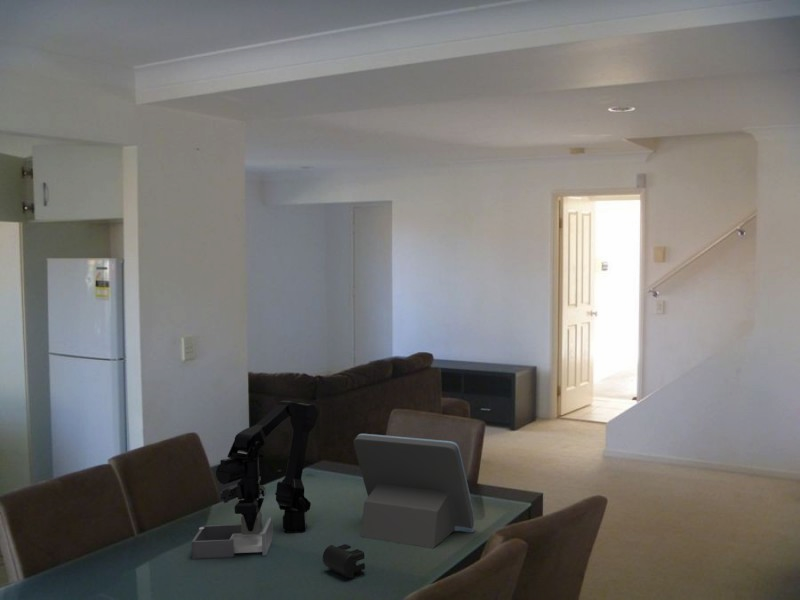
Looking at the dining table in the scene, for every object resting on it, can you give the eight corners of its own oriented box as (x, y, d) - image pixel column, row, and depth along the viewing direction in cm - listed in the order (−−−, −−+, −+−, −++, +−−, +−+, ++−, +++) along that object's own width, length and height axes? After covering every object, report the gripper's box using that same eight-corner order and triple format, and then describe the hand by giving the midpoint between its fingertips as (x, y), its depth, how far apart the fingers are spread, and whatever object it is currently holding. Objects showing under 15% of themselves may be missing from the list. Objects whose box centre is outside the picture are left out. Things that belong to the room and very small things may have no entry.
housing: (242, 540, 242) (241, 523, 242) (233, 557, 228) (232, 539, 228) (202, 542, 242) (201, 524, 241) (190, 559, 228) (189, 541, 227)
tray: (272, 538, 242) (272, 517, 242) (266, 555, 228) (265, 533, 228) (233, 540, 242) (232, 519, 241) (224, 557, 228) (223, 535, 227)
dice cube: (241, 534, 232) (241, 517, 232) (245, 528, 237) (244, 512, 237) (259, 534, 232) (258, 517, 232) (262, 528, 237) (261, 511, 237)
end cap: (322, 572, 215) (321, 547, 215) (344, 565, 220) (343, 540, 219) (344, 582, 207) (343, 557, 207) (366, 575, 212) (365, 550, 212)
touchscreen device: (477, 529, 244) (472, 433, 241) (449, 553, 227) (444, 449, 224) (378, 515, 261) (373, 425, 258) (345, 536, 244) (340, 440, 241)
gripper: (228, 468, 243) (230, 518, 244) (215, 485, 224) (217, 540, 225) (264, 466, 243) (267, 517, 244) (254, 484, 225) (257, 538, 225)
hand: (252, 527), depth 235 cm, fingers closed on dice cube, 5 cm apart
